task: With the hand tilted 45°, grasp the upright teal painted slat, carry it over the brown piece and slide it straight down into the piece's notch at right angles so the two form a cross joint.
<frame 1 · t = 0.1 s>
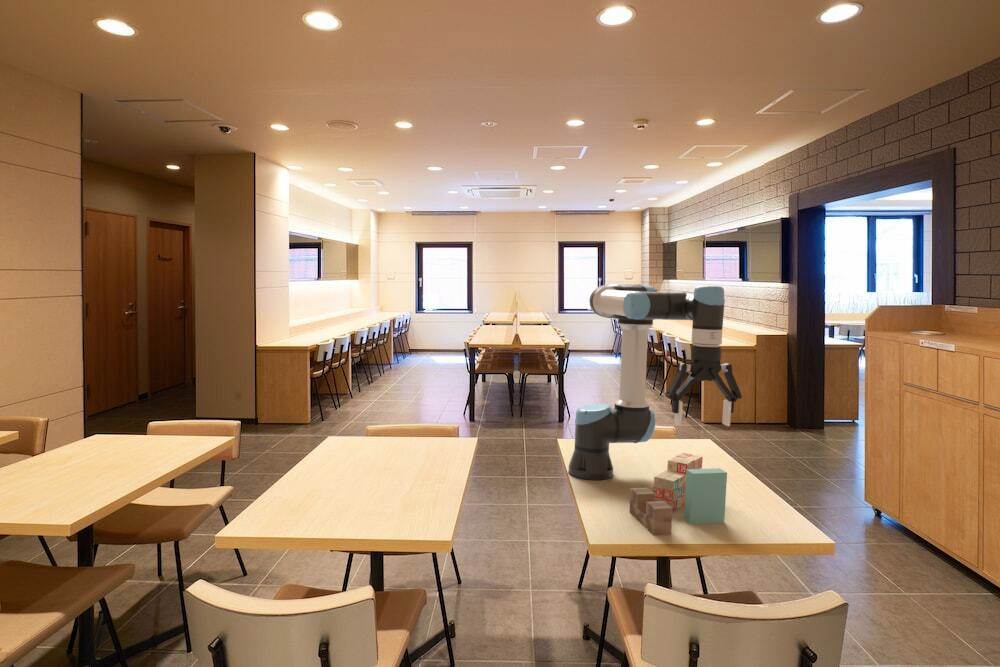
hand: (702, 425, 162), 28 cm above the table, tool pointing down, fingers open, 13 cm apart
brown piece: (649, 522, 167), on the table
stack of blocks: (677, 501, 186), on the table
slat: (703, 520, 170), on the table
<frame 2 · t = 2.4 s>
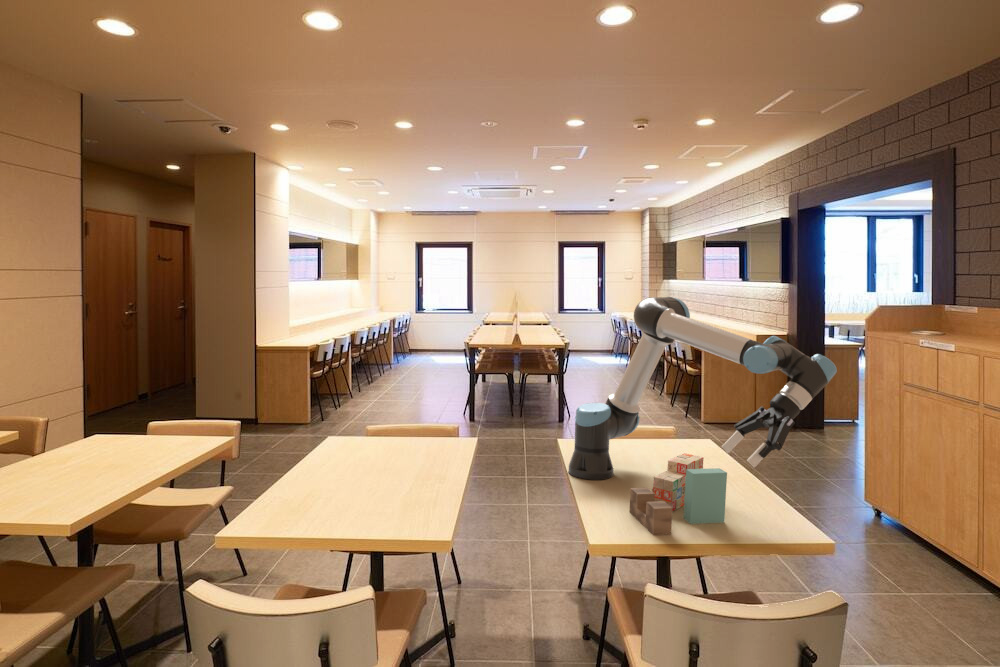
hand: (737, 456, 170), 18 cm above the table, tool tilted 45°, fingers open, 13 cm apart
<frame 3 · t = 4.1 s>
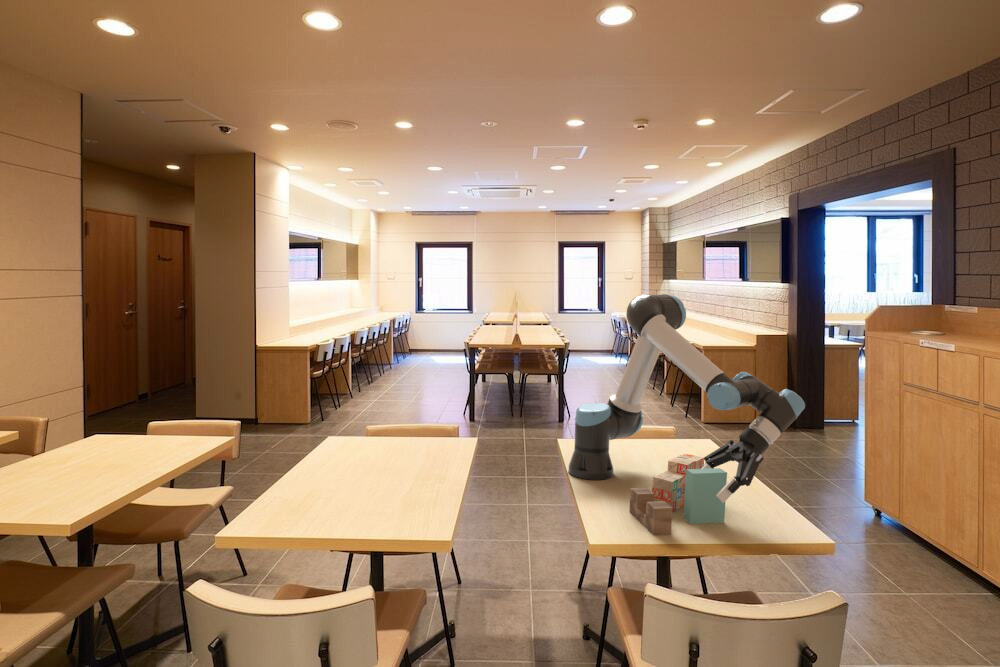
hand: (706, 490, 169), 8 cm above the table, tool tilted 45°, fingers open, 13 cm apart
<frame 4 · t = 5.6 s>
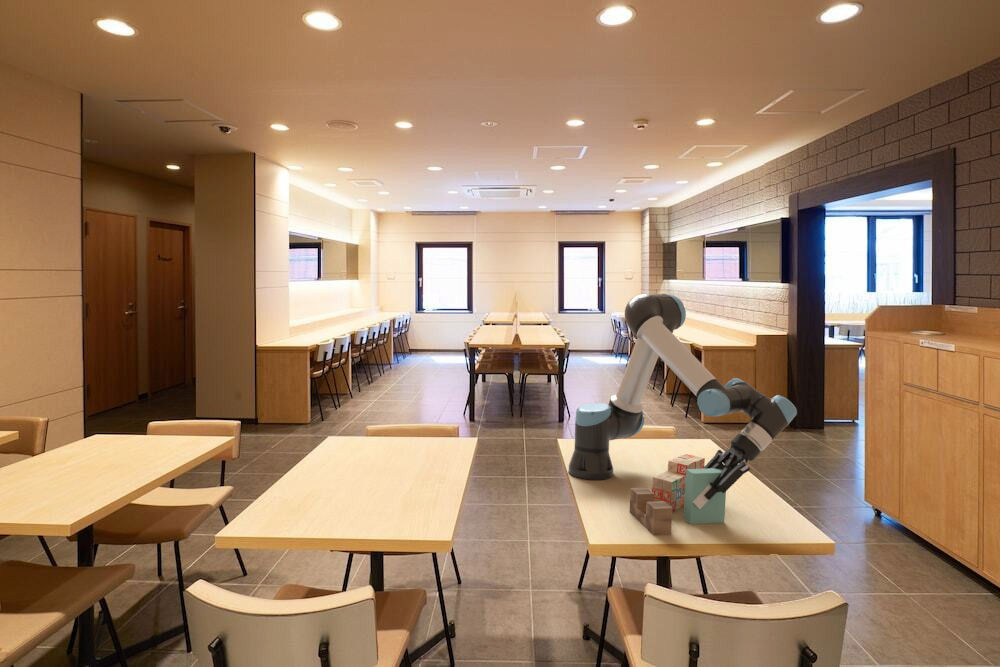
hand: (692, 502, 169), 5 cm above the table, tool tilted 45°, fingers closed on slat, 4 cm apart
slat: (703, 520, 170), on the table, touching gripper
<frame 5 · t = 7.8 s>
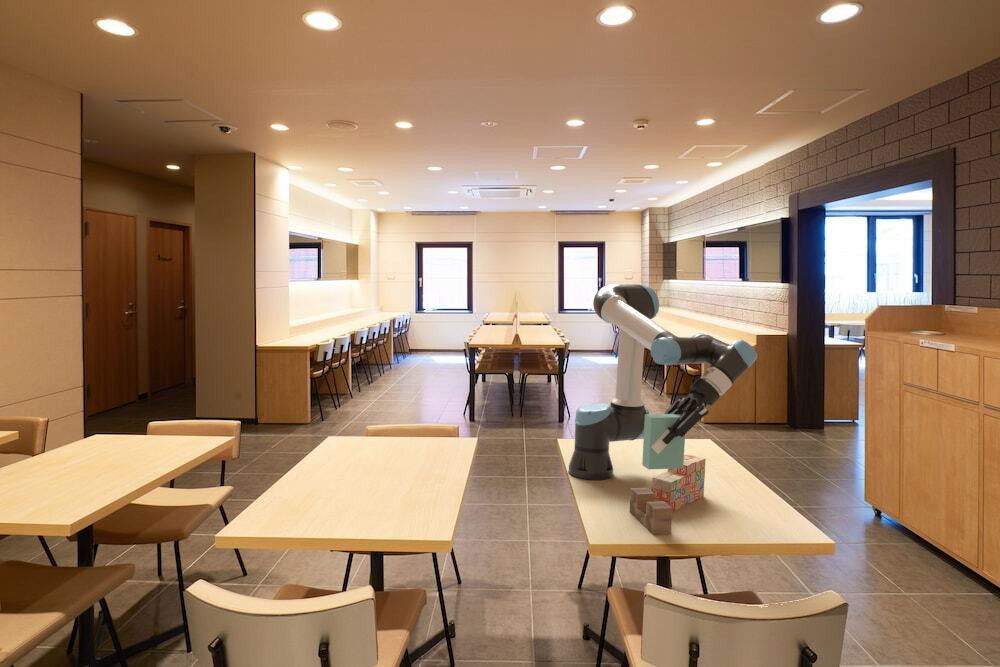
hand: (650, 447, 165), 21 cm above the table, tool tilted 45°, fingers closed on slat, 4 cm apart
slat: (662, 466, 167), point 16 cm above the table, touching gripper
when the fingers open (10 cm above the table, at t = 10.4 s): slat drops 1 cm, resting on brown piece.
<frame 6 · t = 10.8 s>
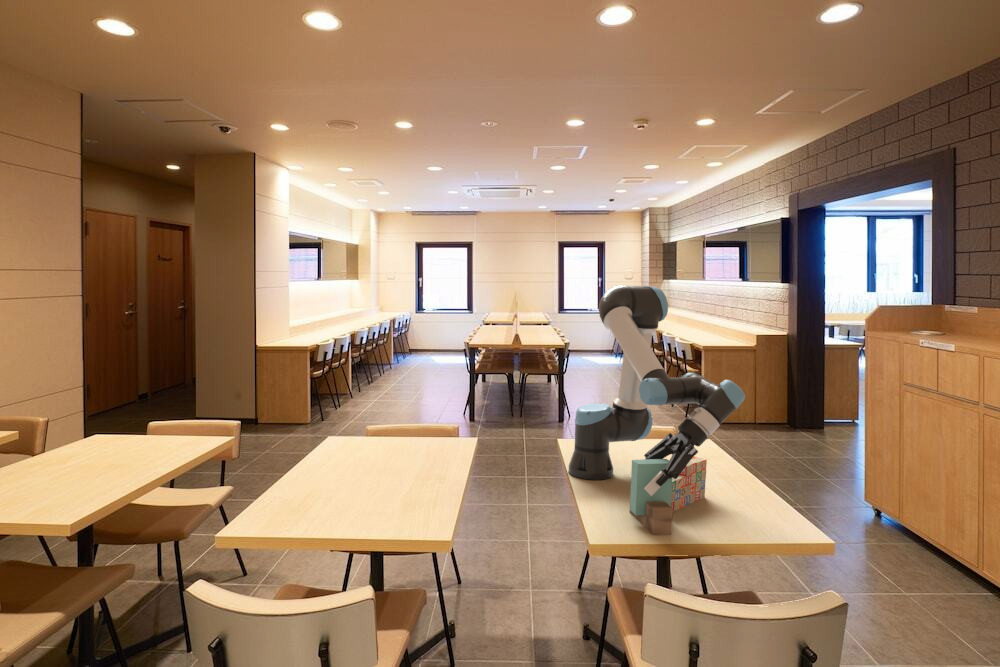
hand: (640, 486, 166), 10 cm above the table, tool tilted 45°, fingers open, 9 cm apart
slat: (650, 511, 167), point 3 cm above the table, touching brown piece
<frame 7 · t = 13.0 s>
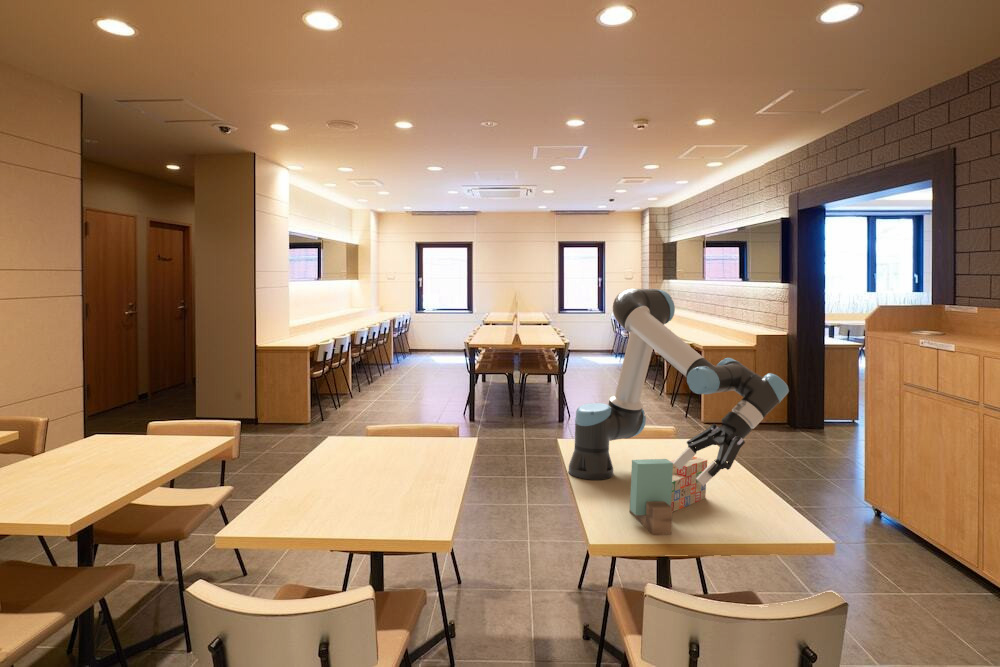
hand: (687, 474, 169), 13 cm above the table, tool tilted 45°, fingers open, 13 cm apart
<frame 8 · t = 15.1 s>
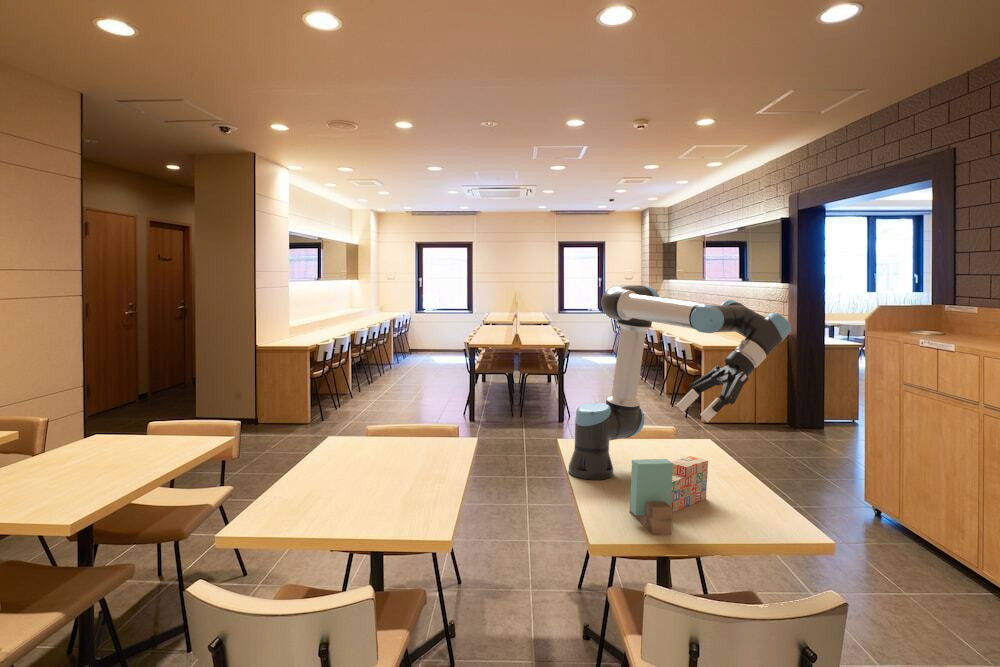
hand: (691, 413, 169), 30 cm above the table, tool tilted 45°, fingers open, 13 cm apart
at the end: slat 0.1 cm off-centre on the brown piece, point 3.0 cm above the brown piece's base; slat tilted 0°; the gripper is holding nothing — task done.
